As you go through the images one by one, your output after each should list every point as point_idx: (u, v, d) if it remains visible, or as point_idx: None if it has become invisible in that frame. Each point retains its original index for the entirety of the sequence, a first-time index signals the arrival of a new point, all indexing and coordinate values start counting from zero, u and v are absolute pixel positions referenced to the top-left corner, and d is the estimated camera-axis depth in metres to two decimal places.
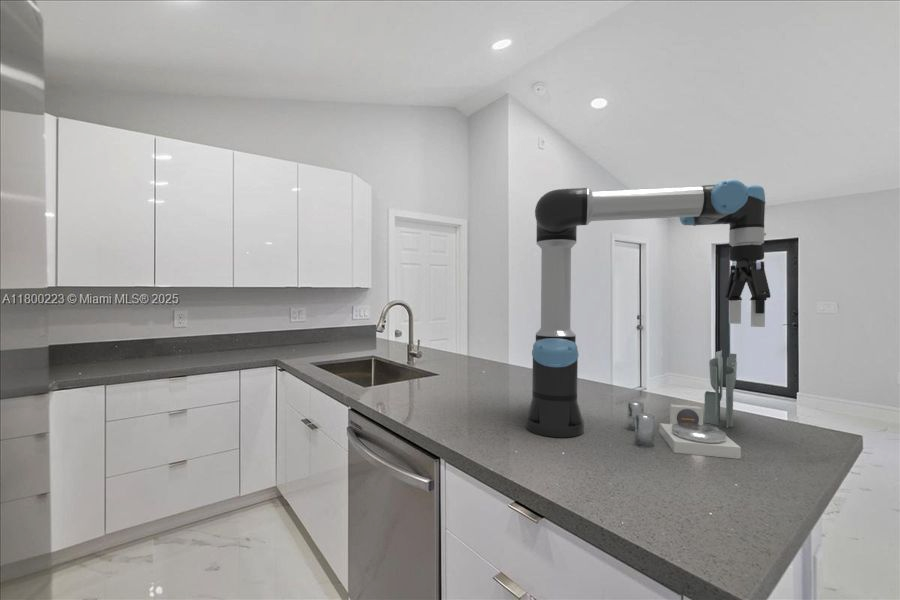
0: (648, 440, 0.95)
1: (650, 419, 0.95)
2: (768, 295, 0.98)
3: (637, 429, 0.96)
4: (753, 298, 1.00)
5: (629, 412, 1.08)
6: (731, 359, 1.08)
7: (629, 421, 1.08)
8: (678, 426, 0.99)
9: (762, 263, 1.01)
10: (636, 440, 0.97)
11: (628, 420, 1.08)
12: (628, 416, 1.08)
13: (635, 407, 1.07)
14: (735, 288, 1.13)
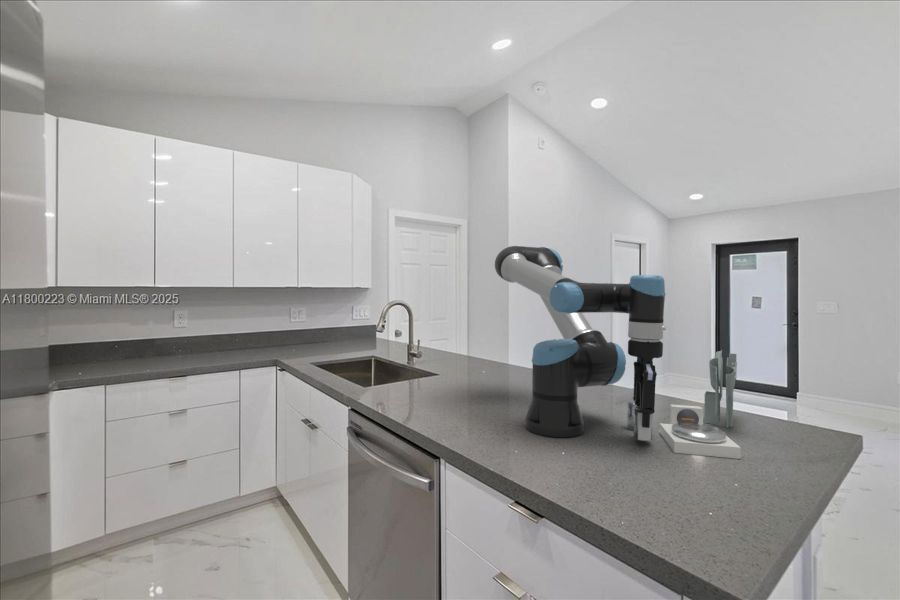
0: None
1: None
2: (652, 412, 0.92)
3: (636, 423, 0.97)
4: (638, 412, 0.94)
5: (629, 412, 1.08)
6: (731, 359, 1.08)
7: (629, 421, 1.08)
8: (678, 426, 0.99)
9: (654, 375, 0.90)
10: (634, 434, 0.97)
11: (629, 420, 1.08)
12: (628, 416, 1.08)
13: None
14: (638, 388, 0.99)
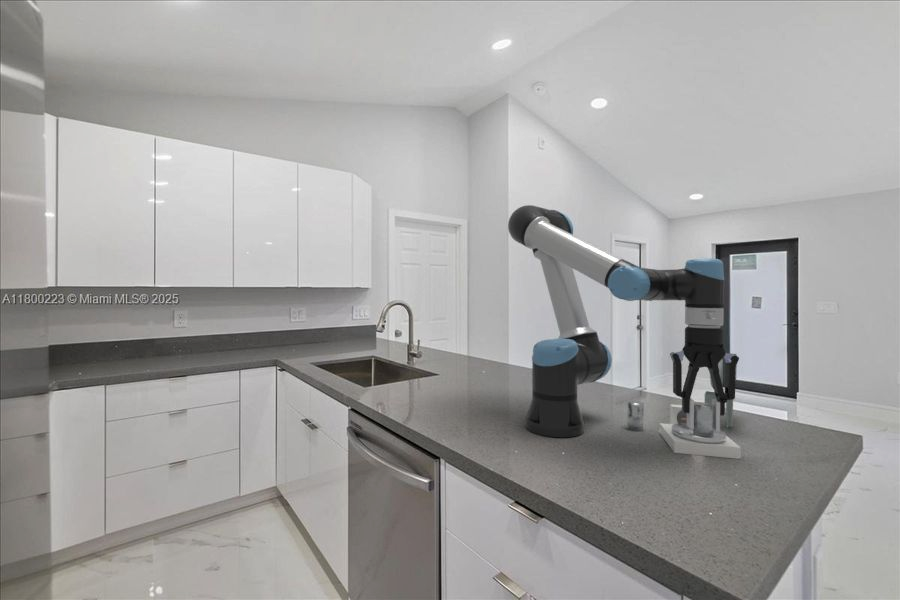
0: (694, 428, 0.93)
1: (696, 406, 0.92)
2: (675, 394, 0.93)
3: None
4: None
5: (629, 412, 1.08)
6: None
7: (629, 421, 1.08)
8: (678, 426, 0.99)
9: (672, 356, 0.93)
10: None
11: (628, 420, 1.08)
12: (628, 416, 1.08)
13: (635, 407, 1.07)
14: (712, 380, 0.93)
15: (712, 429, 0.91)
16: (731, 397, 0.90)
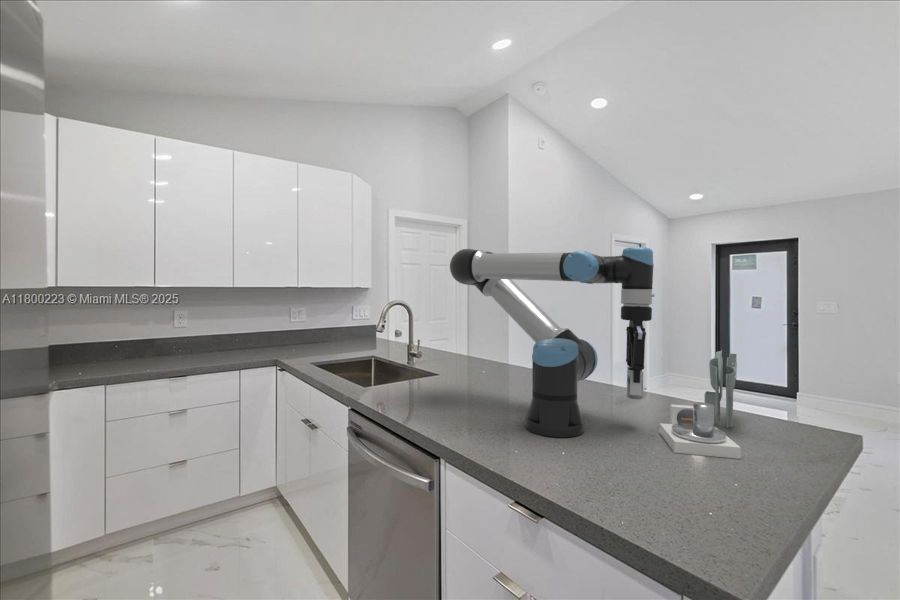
0: (694, 428, 0.93)
1: (696, 406, 0.92)
2: (642, 368, 1.03)
3: None
4: (630, 369, 1.05)
5: (629, 380, 1.08)
6: (731, 359, 1.08)
7: (628, 390, 1.08)
8: (678, 426, 0.99)
9: (644, 334, 1.02)
10: None
11: (628, 389, 1.08)
12: (628, 385, 1.08)
13: None
14: (630, 350, 1.10)
15: (712, 429, 0.91)
16: None
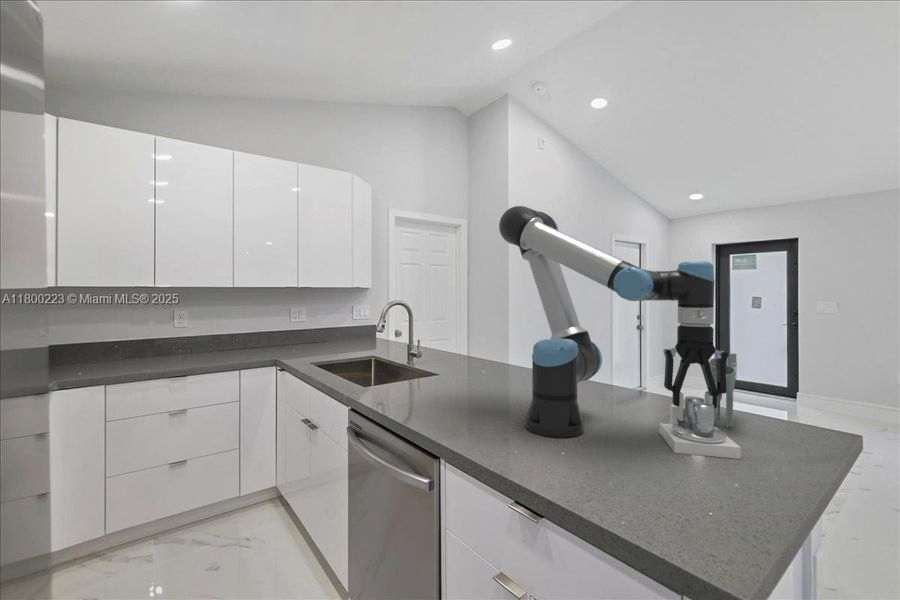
0: (694, 428, 0.93)
1: (696, 406, 0.92)
2: (666, 388, 0.99)
3: None
4: None
5: None
6: (731, 359, 1.08)
7: None
8: (678, 426, 0.99)
9: (665, 352, 0.99)
10: None
11: None
12: None
13: None
14: (704, 375, 0.99)
15: (712, 429, 0.91)
16: (723, 391, 0.96)
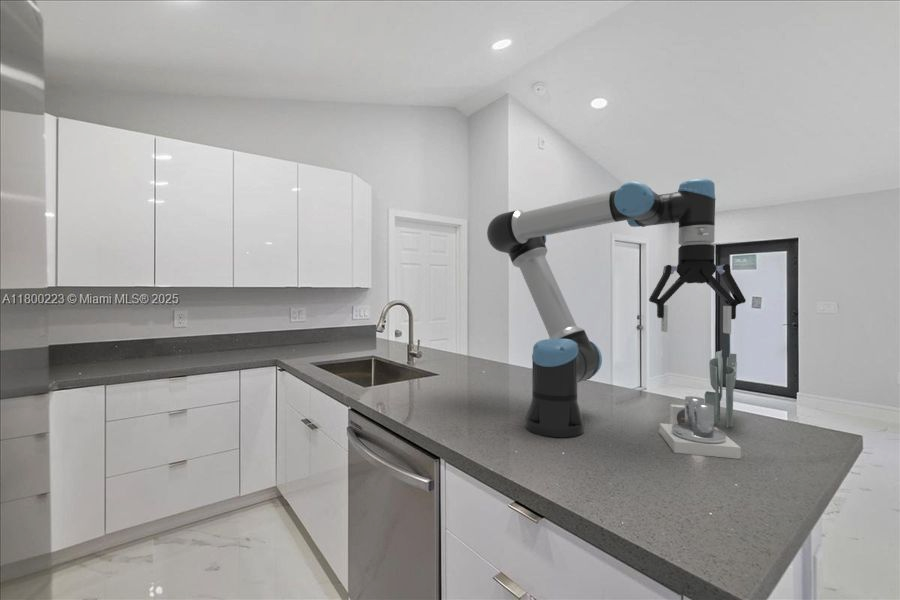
0: (694, 428, 0.93)
1: (696, 406, 0.92)
2: (650, 299, 1.00)
3: None
4: None
5: None
6: (731, 359, 1.08)
7: None
8: (678, 426, 0.99)
9: (665, 267, 0.99)
10: None
11: None
12: None
13: (685, 400, 0.99)
14: (716, 291, 0.98)
15: (712, 429, 0.91)
16: (742, 301, 0.95)
